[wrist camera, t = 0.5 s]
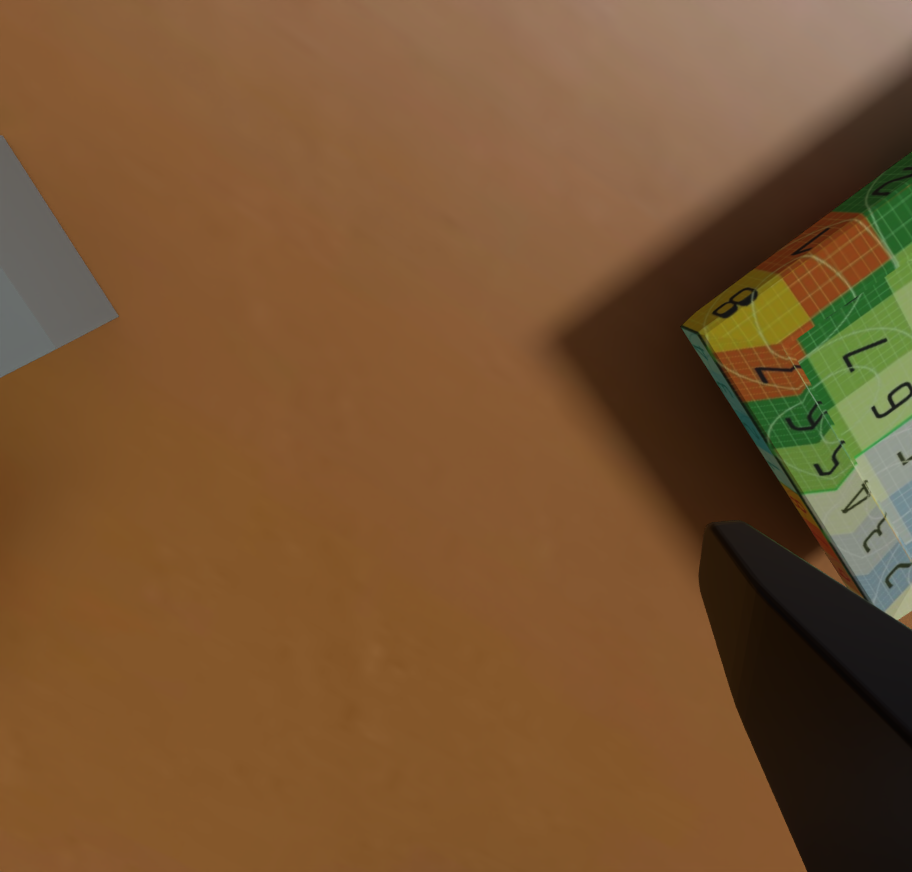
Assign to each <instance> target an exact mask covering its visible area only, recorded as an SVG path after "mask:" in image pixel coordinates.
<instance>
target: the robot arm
mask: <svg viewBox="0 0 912 872" xmlns="http://www.w3.org/2000/svg"><path fill="white" fill-rule="evenodd" d="M699 586H700V592H701V595H702V599H703V602H704V605H705V608H706V612H707V615H708V618H709V622H710V625H711V628H712V631H713V635H714V638H715V641H716V645H717V648H718V651H719V654H720V658H721V661H722V664H723V667H724V671H725V674H726V677H727V681H728V684H729V687H730V690H731V693H732V696H733V699H734V702H735V705H736V708H737V710H738V713H739V715H740V718H741V720H742V723H743V725H744V728H745V730H746V732H747V734H748V737H749V739H750V741H751V744H752V746H753V748H754V751H755V753H756V755H757V757H758V760H759V762H760V764H761V767H762V769H763V771H764V773H765V776H766V778H767V780H768V783H769V785H770V787H771V789H772V792H773V794H774V796H775V799H776V801H777V803H778V806H779V808H780V810H781V812H782V815H783V817H784V819H785V822H786V824H787V826H788V828H789V831H790V833H791V835H792V838H793V840H794V842H795V844H796V847H797V849H798V851H799V854H800V856H801V858H802V861H803V863H804V865H805V867H806V870H807V872H912V629H910V628H909V627H907V626H906V625H904V624H902V623H901V622H899V621H898V620H896V619H895V618H893V617H892V616H890V615H888V614H887V613H885V612H884V611H882V610H881V609H879V608H878V607H876V606H874V605H873V604H871V603H870V602H868V601H867V600H865V599H864V598H862V597H861V596H859V595H857V594H856V593H854V592H853V591H851V590H850V589H848V588H847V587H845V586H843V585H842V584H840V583H839V582H837V581H836V580H834V579H833V578H831V577H829V576H828V575H826V574H825V573H823V572H822V571H820V570H819V569H817V568H815V567H814V566H812V565H811V564H809V563H808V562H806V561H805V560H803V559H802V558H800V557H798V556H797V555H795V554H794V553H792V552H791V551H789V550H788V549H786V548H784V547H783V546H781V545H780V544H778V543H777V542H775V541H774V540H772V539H770V538H769V537H767V536H766V535H764V534H763V533H761V532H760V531H758V530H756V529H755V528H753V527H752V526H750V525H749V524H747V523H745V522H743V521H740V520H732V521H721V522H712V523H710V524H708V525H707V526H706V528H705V530H704V535H703V543H702V551H701V559H700V567H699Z"/></svg>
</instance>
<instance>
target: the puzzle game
mask: <svg viewBox="0 0 912 872" xmlns="http://www.w3.org/2000/svg"><path fill="white" fill-rule="evenodd" d="M681 328H682V330H683V331H684V333H685V335H686V336H687V338H688V339H689V341H690V342H691V344H692V345H693V347H694V349H695V350H696V352H697V353H698V355H699V356H700V358H701V360H702V361H703V363H704V364H705V366H706V367H707V369H708V371H709V372H710V374H711V375H712V377H713V378H714V380H715V381H716V383H717V385H718V386H719V388H720V389H721V391H722V392H723V394H724V396H725V397H726V399H727V400H728V402H729V403H730V405H731V407H732V408H733V410H734V411H735V413H736V414H737V416H738V417H739V419H740V421H741V422H742V424H743V425H744V427H745V428H746V430H747V432H748V433H749V435H750V436H751V438H752V439H753V441H754V442H755V444H756V446H757V447H758V449H759V450H760V452H761V453H762V455H763V457H764V458H765V460H766V461H767V463H768V464H769V466H770V468H771V469H772V471H773V472H774V474H775V475H776V477H777V478H778V480H779V482H780V483H781V485H782V486H783V488H784V489H785V491H786V493H787V494H788V496H789V497H790V499H791V500H792V502H793V504H794V505H795V507H796V508H797V510H798V511H799V513H800V514H801V516H802V518H803V519H804V521H805V522H806V524H807V525H808V527H809V529H810V530H811V532H812V533H813V535H814V536H815V538H816V540H817V541H818V543H819V544H820V546H821V547H822V549H823V550H824V552H825V554H826V555H827V557H828V558H829V560H830V561H831V563H832V565H833V566H834V568H835V569H836V571H837V572H838V574H839V576H840V577H841V579H842V580H843V582H844V583H845V585H846V586H847V588H848V589H850V590H851V591H853V592H854V593H856V594H857V595H859V596H861V597H862V598H864V599H865V600H867V601H868V602H870V603H871V604H873V605H874V606H876V607H878V608H879V609H881V610H882V611H884V612H885V613H887V614H888V615H890V616H892V617H893V618H895V619H896V620H898V619H900V618H901V617H903V616H904V615H906V614H908V613H909V612H911V611H912V152H911V153H909V154H908V155H907V156H905V157H904V158H902V159H901V160H900V161H898V162H897V163H896V164H894V165H893V166H892V167H890V168H889V169H888V170H886V171H885V172H884V173H882V174H881V175H880V176H878V177H877V178H876V179H874V180H873V181H872V182H870V183H869V184H867V185H866V186H865V187H863V188H862V189H861V190H859V191H858V192H857V193H855V194H854V195H853V196H851V197H850V198H849V199H847V200H846V201H845V202H843V203H842V204H841V205H839V206H838V207H837V208H835V209H834V210H832V211H831V212H830V213H828V214H827V215H826V216H824V217H823V218H822V219H820V220H819V221H818V222H816V223H815V224H814V225H812V226H811V227H810V228H808V229H807V230H806V231H804V232H803V233H802V234H800V235H799V236H797V237H796V238H795V239H793V240H792V241H791V242H789V243H788V244H787V245H785V246H784V247H783V248H781V249H780V250H779V251H777V252H776V253H775V254H773V255H772V256H771V257H769V258H768V259H767V260H765V261H764V262H762V263H761V264H760V265H758V266H757V267H756V268H754V269H753V270H752V271H750V272H749V273H748V274H746V275H745V276H744V277H742V278H741V279H740V280H738V281H737V282H736V283H734V284H733V285H732V286H730V287H729V288H727V289H726V290H725V291H723V292H722V293H721V294H719V295H718V296H717V297H715V298H714V299H713V300H711V301H710V302H709V303H707V304H706V305H705V306H703V307H702V308H701V309H699V310H698V311H697V312H695V313H694V314H693V315H692V316H691V317H690V318H689V319H688V320H687V321H686V322H685V323H684V324H683V325H682V326H681Z"/></svg>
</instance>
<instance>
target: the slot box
mask: <svg viewBox="0 0 912 872" xmlns="http://www.w3.org/2000/svg"><path fill="white" fill-rule="evenodd" d="M117 317H119V316H118V314H117V313H116V311H115V310H114V308H113V307H112V305H111V303H110V302H109V300H108V299H107V297H106V296H105V294H104V293H103V291H102V289H101V288H100V286H99V285H98V283H97V282H96V280H95V279H94V277H93V275H92V274H91V272H90V271H89V269H88V268H87V266H86V265H85V263H84V261H83V260H82V258H81V257H80V255H79V254H78V252H77V251H76V249H75V247H74V246H73V244H72V243H71V241H70V240H69V238H68V237H67V235H66V233H65V232H64V230H63V229H62V227H61V226H60V224H59V223H58V221H57V219H56V218H55V216H54V215H53V213H52V212H51V210H50V209H49V207H48V205H47V204H46V202H45V201H44V199H43V198H42V196H41V195H40V193H39V191H38V190H37V188H36V187H35V185H34V184H33V182H32V181H31V179H30V177H29V176H28V174H27V173H26V171H25V170H24V168H23V167H22V165H21V163H20V162H19V160H18V159H17V157H16V156H15V154H14V153H13V151H12V149H11V148H10V146H9V145H8V143H7V142H6V140H5V139H4V137H3V136H1V135H0V377H2V376H4V375H6V374H8V373H10V372H12V371H14V370H16V369H18V368H20V367H22V366H24V365H26V364H28V363H30V362H32V361H34V360H36V359H38V358H40V357H42V356H44V355H46V354H47V353H49V352H51V351H53V350H55V349H57V348H59V347H61V346H63V345H65V344H67V343H69V342H71V341H73V340H75V339H77V338H78V337H80V336H82V335H84V334H86V333H88V332H90V331H92V330H94V329H96V328H98V327H100V326H101V325H103V324H105V323H107V322H109V321H111V320H113V319H115V318H117Z"/></svg>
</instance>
